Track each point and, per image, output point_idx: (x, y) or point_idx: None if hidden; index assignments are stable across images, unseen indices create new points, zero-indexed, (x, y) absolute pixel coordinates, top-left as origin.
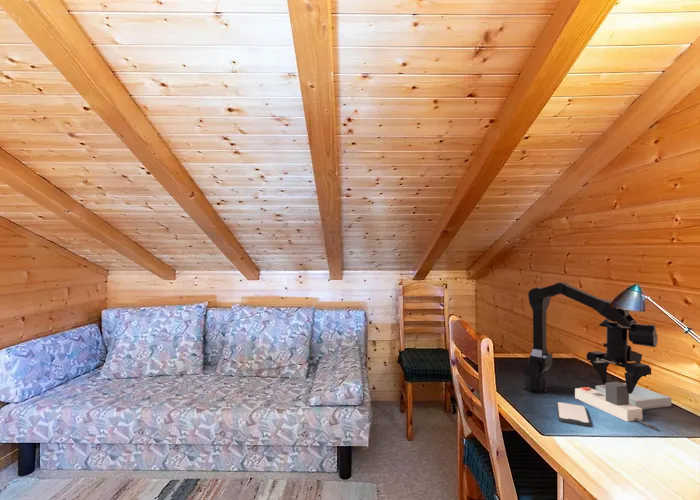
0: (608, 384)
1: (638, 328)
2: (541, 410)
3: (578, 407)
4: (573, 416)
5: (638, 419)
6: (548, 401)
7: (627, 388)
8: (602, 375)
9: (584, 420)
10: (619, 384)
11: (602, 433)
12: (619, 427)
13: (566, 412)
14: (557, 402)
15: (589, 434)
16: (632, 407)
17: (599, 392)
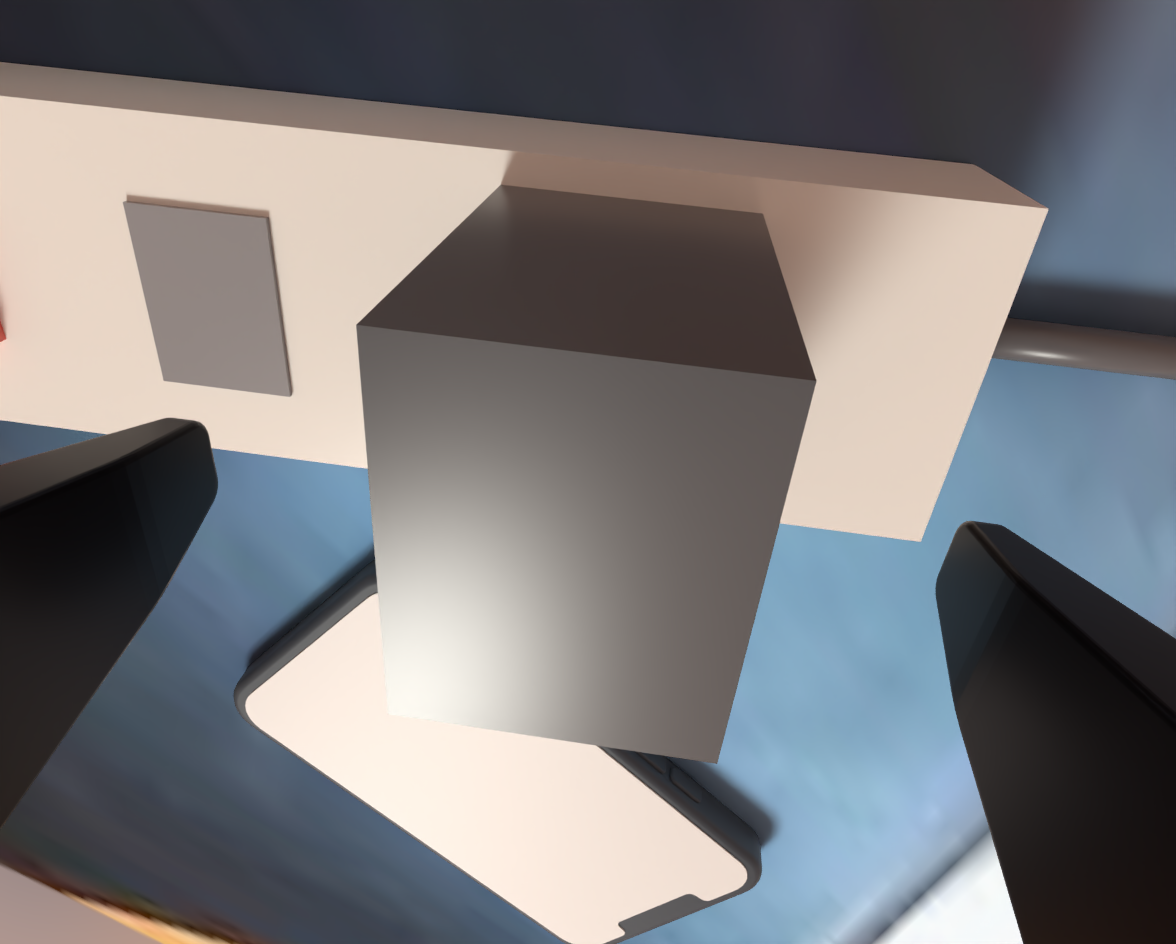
0: (474, 707)
1: None
2: (362, 871)
3: None
4: (600, 869)
5: (997, 348)
6: (157, 693)
7: (982, 740)
8: (54, 674)
9: (705, 869)
10: (611, 549)
11: (895, 861)
12: (914, 661)
13: (506, 847)
14: (245, 718)
15: (849, 931)
16: (903, 340)
17: (89, 156)
